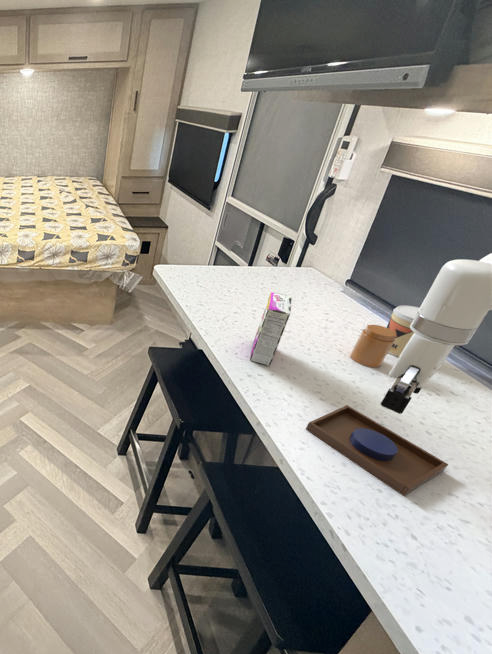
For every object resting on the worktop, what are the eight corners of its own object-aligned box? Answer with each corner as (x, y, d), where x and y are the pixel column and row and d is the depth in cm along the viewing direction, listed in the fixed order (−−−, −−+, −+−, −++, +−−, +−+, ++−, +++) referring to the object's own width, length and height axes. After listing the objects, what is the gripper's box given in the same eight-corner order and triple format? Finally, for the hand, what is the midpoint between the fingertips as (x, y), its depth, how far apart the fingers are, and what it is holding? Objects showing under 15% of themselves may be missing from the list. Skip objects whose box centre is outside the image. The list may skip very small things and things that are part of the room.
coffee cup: (367, 339, 115) (386, 303, 109) (404, 342, 113) (425, 306, 108) (390, 359, 107) (412, 321, 101) (430, 362, 105) (454, 324, 100)
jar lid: (346, 446, 81) (350, 440, 80) (352, 428, 85) (356, 422, 84) (391, 467, 76) (395, 460, 75) (395, 447, 80) (399, 441, 79)
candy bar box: (252, 341, 115) (270, 291, 107) (272, 346, 112) (292, 295, 104) (248, 360, 107) (267, 308, 99) (270, 367, 104) (291, 313, 96)
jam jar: (386, 363, 105) (403, 333, 100) (371, 369, 103) (389, 339, 98) (358, 350, 110) (374, 321, 106) (344, 356, 108) (359, 326, 103)
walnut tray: (443, 471, 76) (448, 464, 75) (404, 496, 71) (409, 489, 70) (343, 411, 90) (347, 404, 89) (305, 429, 85) (308, 422, 84)
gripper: (428, 305, 79) (390, 373, 87) (398, 333, 70) (359, 406, 78) (484, 321, 73) (438, 392, 81) (458, 353, 65) (410, 429, 73)
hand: (399, 399), depth 80 cm, fingers open, 9 cm apart
